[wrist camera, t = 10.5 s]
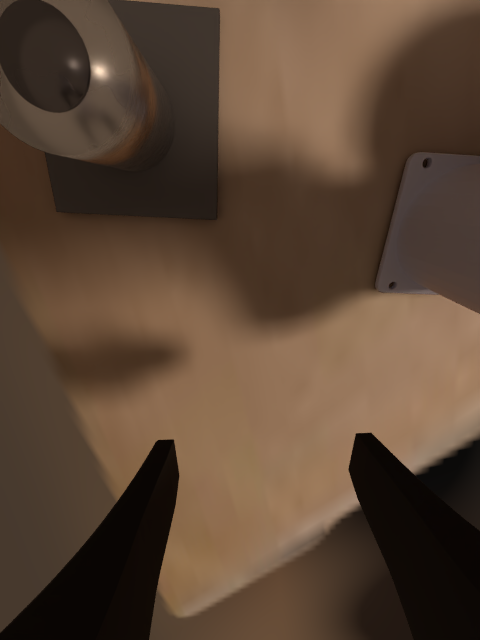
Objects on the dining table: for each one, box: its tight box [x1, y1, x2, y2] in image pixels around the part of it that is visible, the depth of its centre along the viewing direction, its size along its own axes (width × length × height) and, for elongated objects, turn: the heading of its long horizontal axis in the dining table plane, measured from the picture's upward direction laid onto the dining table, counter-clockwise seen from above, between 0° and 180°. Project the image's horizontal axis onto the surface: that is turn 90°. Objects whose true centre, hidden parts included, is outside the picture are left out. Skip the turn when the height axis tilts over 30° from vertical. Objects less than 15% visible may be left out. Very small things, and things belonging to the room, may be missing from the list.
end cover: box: [0, 0, 175, 172], centre depth 11 cm, size 5×5×7 cm
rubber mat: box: [45, 0, 220, 220], centre depth 15 cm, size 9×9×1 cm
